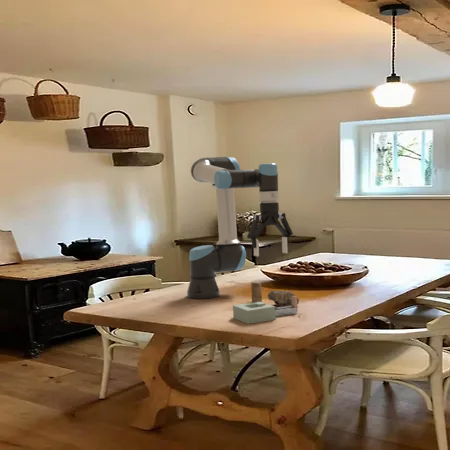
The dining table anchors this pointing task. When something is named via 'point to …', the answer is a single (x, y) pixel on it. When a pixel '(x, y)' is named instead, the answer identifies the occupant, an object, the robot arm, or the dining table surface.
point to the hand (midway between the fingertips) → (270, 254)
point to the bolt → (294, 304)
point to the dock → (254, 312)
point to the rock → (282, 298)
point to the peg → (256, 292)
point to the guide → (285, 312)
